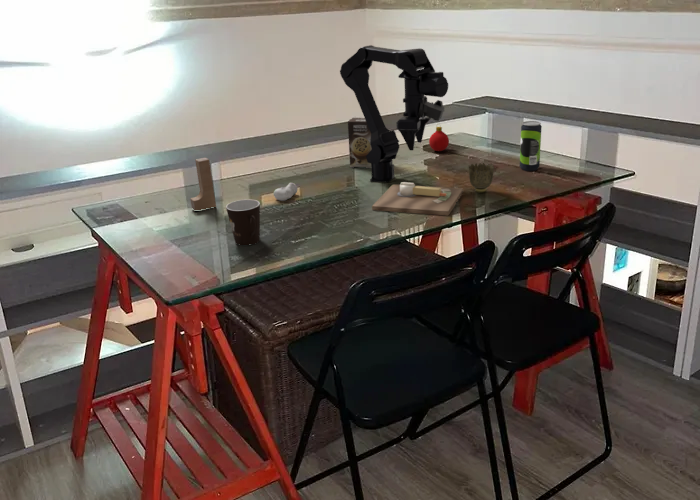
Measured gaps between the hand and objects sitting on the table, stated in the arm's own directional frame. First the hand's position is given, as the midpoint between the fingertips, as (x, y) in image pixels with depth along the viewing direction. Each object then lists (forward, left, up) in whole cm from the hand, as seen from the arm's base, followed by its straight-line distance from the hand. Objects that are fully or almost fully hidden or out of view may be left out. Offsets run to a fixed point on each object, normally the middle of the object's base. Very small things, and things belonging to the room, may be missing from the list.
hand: (415, 146), depth 202 cm
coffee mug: (-31, -52, -13) cm, 62 cm away
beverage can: (+31, +25, -13) cm, 42 cm away
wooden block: (-57, -31, -13) cm, 66 cm away
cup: (+20, -1, -13) cm, 24 cm away
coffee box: (-24, +20, -13) cm, 34 cm away
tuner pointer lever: (+5, -10, -12) cm, 16 cm away
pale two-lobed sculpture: (-36, -17, -13) cm, 42 cm away
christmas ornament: (-3, +42, -13) cm, 44 cm away
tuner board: (+4, -12, -13) cm, 18 cm away
